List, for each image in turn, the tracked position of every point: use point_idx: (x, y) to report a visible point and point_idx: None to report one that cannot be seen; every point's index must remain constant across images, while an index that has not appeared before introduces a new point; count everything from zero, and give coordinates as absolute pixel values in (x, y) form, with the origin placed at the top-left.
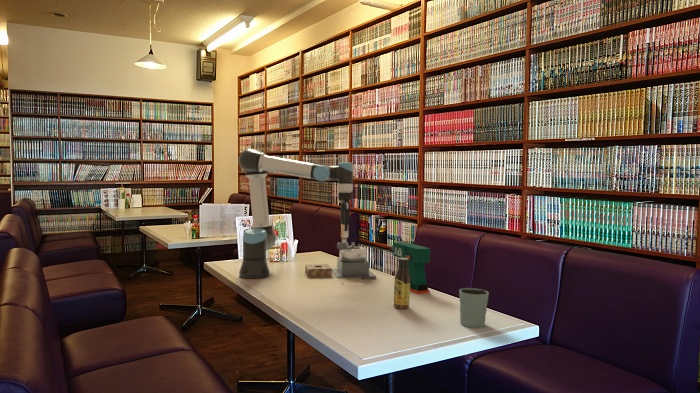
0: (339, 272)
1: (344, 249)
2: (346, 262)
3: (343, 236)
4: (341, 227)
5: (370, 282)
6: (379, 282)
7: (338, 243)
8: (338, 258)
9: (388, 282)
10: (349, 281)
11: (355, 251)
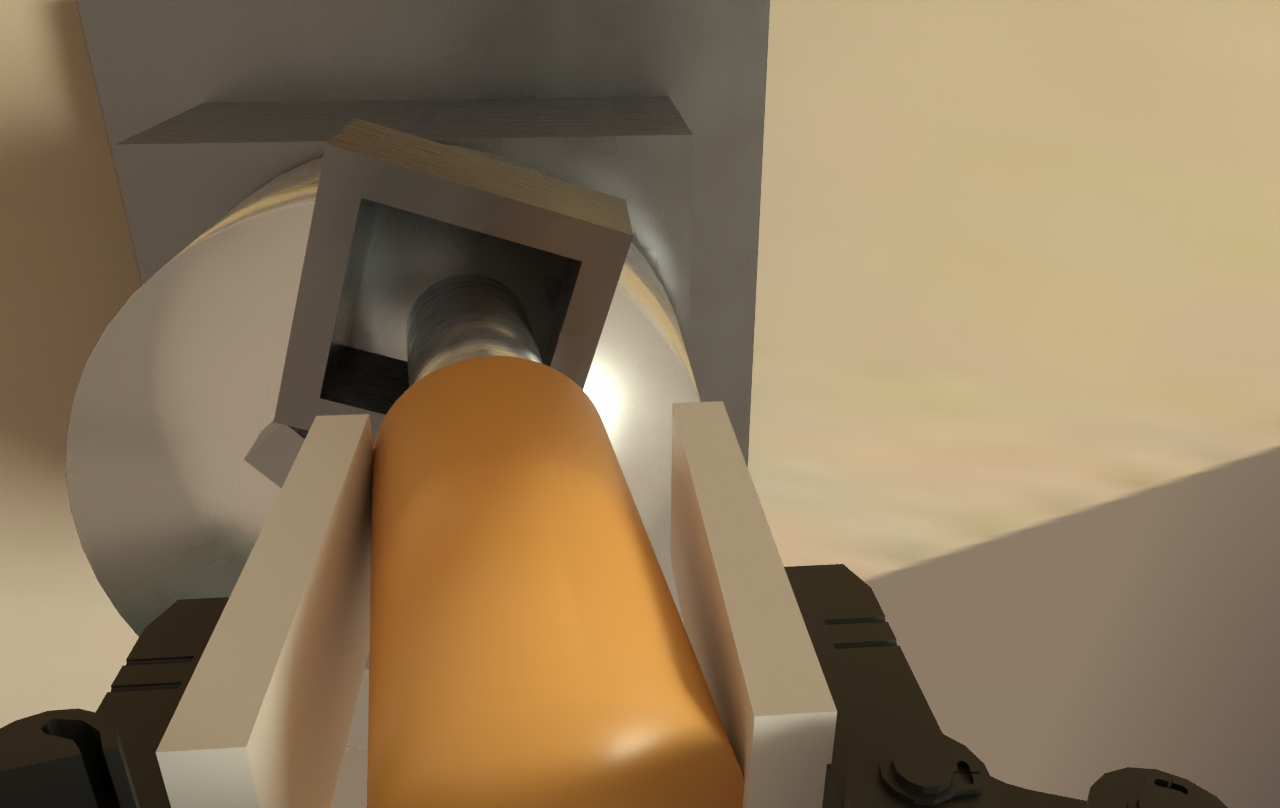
0: (427, 100)
1: (249, 301)
2: (168, 240)
3: (314, 439)
4: (510, 576)
5: (5, 453)
6: (23, 556)
7: (433, 207)
8: (622, 151)
9: (39, 649)
10: (28, 181)
11: (82, 508)
